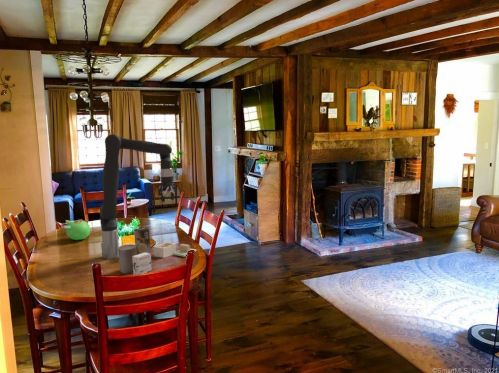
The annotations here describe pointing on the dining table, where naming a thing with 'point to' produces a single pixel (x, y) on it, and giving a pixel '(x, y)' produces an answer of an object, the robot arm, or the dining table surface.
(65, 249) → the dining table surface
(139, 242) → the coffee box
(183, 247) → the lid
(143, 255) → the ink box
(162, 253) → the cream box
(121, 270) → the pillar candle
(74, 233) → the green round pot
